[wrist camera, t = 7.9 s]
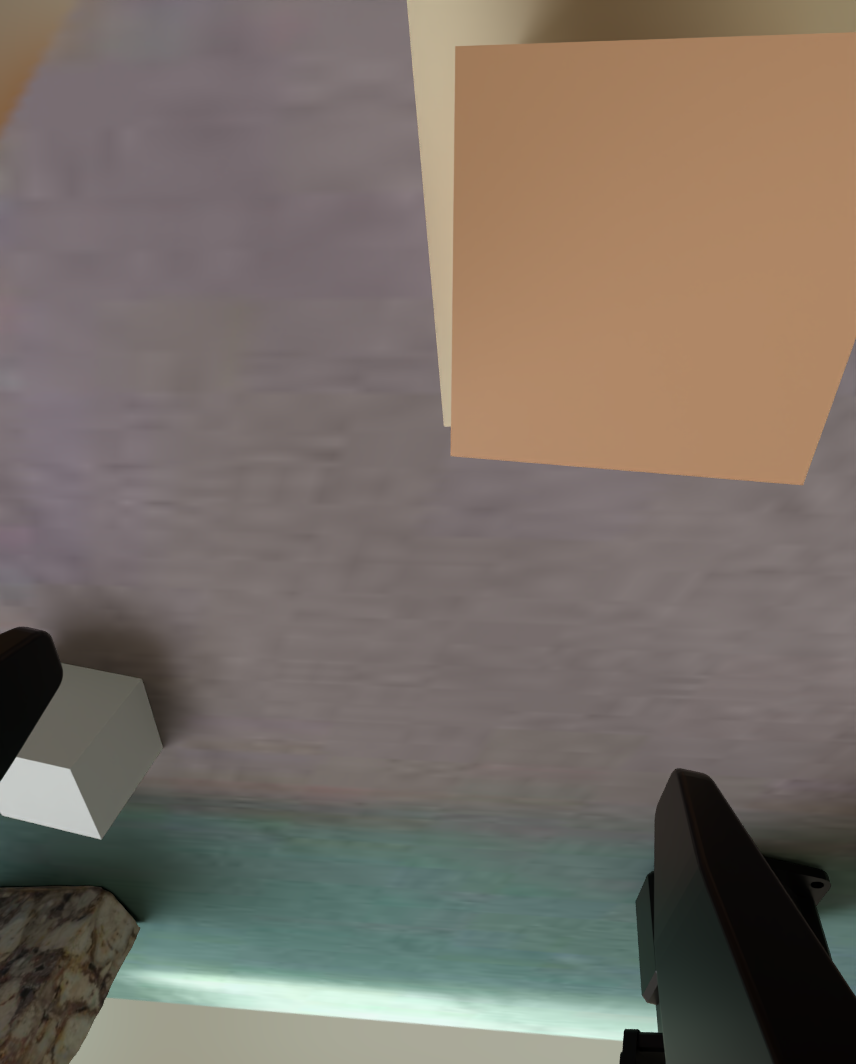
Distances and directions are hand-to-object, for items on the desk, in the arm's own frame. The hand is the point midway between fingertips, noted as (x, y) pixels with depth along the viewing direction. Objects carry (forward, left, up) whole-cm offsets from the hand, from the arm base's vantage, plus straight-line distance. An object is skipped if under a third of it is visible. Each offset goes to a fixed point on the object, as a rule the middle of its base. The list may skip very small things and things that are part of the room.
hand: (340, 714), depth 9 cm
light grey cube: (+17, +18, -12) cm, 27 cm away
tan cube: (-3, -5, -8) cm, 10 cm away
